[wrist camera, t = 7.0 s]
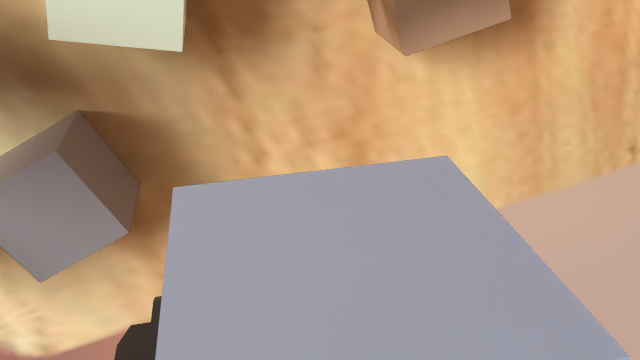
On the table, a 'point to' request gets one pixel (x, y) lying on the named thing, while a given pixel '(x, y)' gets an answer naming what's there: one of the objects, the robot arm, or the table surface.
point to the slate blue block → (362, 273)
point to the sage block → (119, 22)
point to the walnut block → (433, 20)
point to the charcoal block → (63, 197)
